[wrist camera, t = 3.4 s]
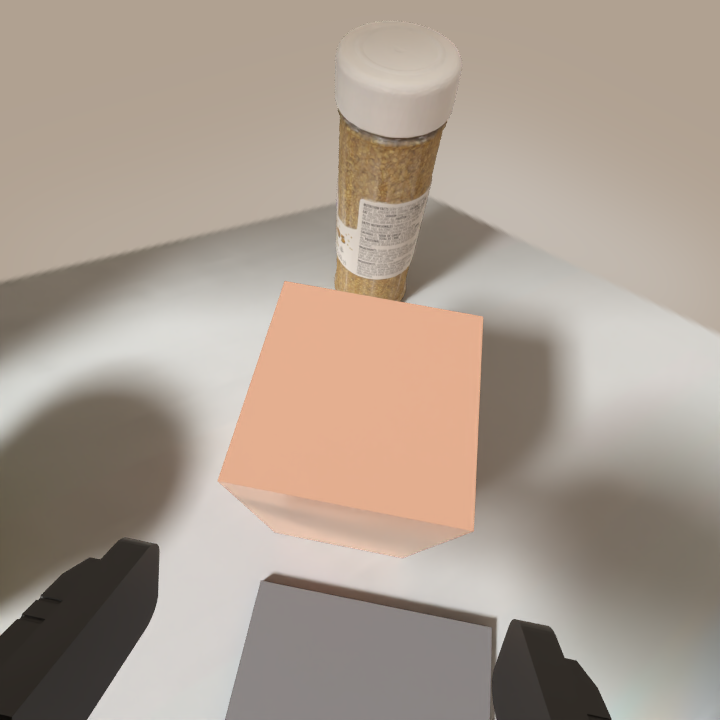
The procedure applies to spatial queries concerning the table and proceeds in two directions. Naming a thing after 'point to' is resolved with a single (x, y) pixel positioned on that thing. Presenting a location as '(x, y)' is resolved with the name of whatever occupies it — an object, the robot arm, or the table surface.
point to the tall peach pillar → (361, 423)
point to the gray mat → (357, 662)
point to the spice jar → (388, 147)
